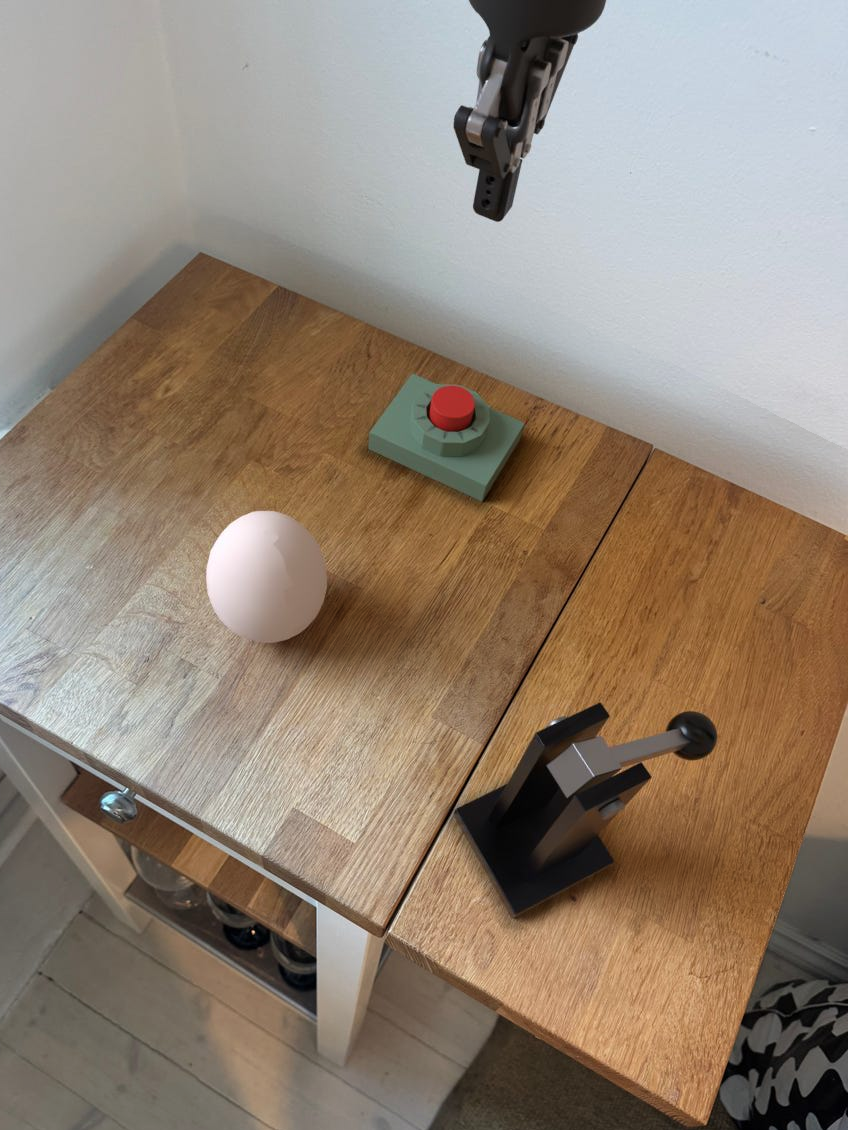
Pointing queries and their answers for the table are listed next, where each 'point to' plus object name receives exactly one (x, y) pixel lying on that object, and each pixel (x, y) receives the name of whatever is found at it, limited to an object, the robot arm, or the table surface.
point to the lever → (631, 752)
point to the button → (452, 408)
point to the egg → (266, 577)
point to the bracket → (546, 819)
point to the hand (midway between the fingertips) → (491, 211)
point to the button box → (445, 440)
